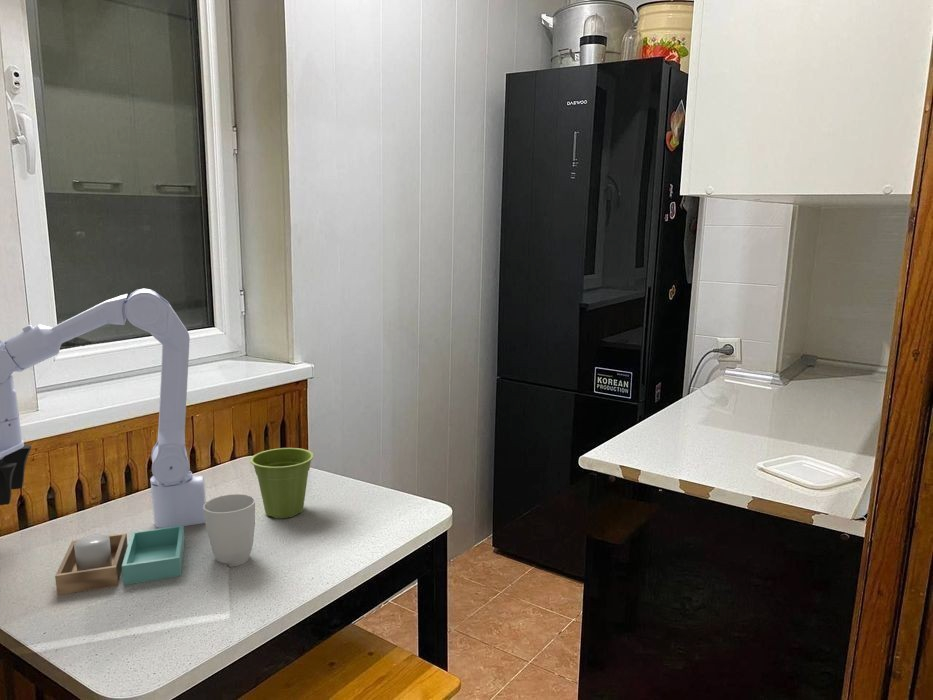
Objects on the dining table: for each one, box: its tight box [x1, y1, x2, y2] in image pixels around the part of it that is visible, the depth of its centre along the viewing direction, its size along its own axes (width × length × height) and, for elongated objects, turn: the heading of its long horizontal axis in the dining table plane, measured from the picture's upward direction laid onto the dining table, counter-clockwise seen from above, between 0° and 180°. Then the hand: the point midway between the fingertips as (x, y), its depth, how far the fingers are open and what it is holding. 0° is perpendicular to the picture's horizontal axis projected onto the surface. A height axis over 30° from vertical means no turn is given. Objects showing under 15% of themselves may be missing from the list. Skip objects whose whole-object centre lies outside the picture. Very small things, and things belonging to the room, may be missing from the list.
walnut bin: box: [54, 532, 129, 596], centre depth 113 cm, size 8×13×4 cm, turn 19°
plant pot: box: [249, 447, 315, 519], centre depth 137 cm, size 12×12×11 cm
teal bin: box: [121, 525, 186, 586], centre depth 116 cm, size 8×13×4 cm, turn 19°
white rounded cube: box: [74, 534, 112, 571], centre depth 113 cm, size 5×5×5 cm
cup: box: [203, 493, 256, 568], centre depth 117 cm, size 8×8×10 cm
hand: (9, 496), depth 120 cm, fingers open, 7 cm apart
